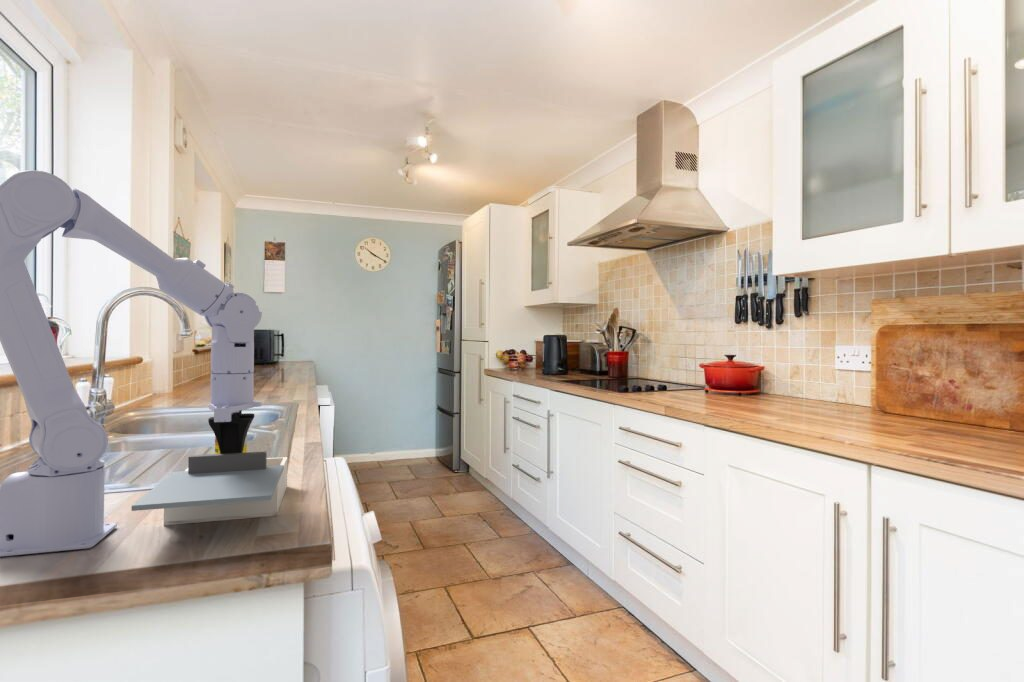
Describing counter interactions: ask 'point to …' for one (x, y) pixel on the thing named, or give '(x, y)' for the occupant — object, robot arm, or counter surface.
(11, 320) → the robot arm
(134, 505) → the lid
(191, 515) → the box
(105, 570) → the counter surface
